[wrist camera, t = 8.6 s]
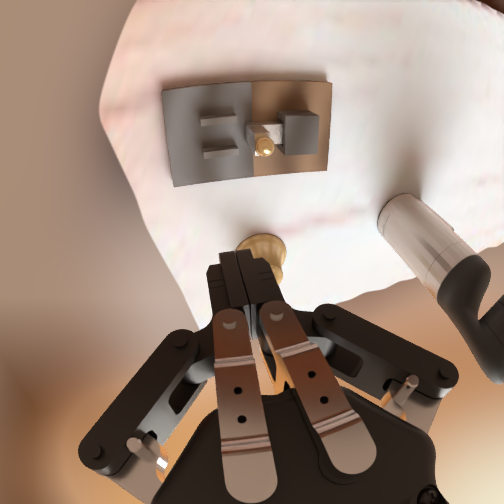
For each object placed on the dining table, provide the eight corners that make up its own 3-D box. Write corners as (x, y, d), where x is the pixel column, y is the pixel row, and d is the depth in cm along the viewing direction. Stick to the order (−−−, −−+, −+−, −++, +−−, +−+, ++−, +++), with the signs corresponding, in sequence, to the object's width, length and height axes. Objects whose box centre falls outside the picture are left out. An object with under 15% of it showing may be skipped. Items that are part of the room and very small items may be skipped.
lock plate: (327, 81, 33) (344, 86, 29) (322, 166, 40) (337, 180, 37) (162, 90, 30) (159, 94, 26) (174, 182, 37) (173, 198, 34)
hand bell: (222, 263, 47) (242, 348, 34) (257, 224, 44) (291, 304, 31) (262, 283, 51) (289, 362, 39) (296, 249, 48) (336, 325, 36)
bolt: (309, 119, 34) (335, 135, 29) (308, 137, 36) (333, 156, 30) (242, 122, 33) (256, 138, 27) (243, 141, 34) (257, 161, 29)
